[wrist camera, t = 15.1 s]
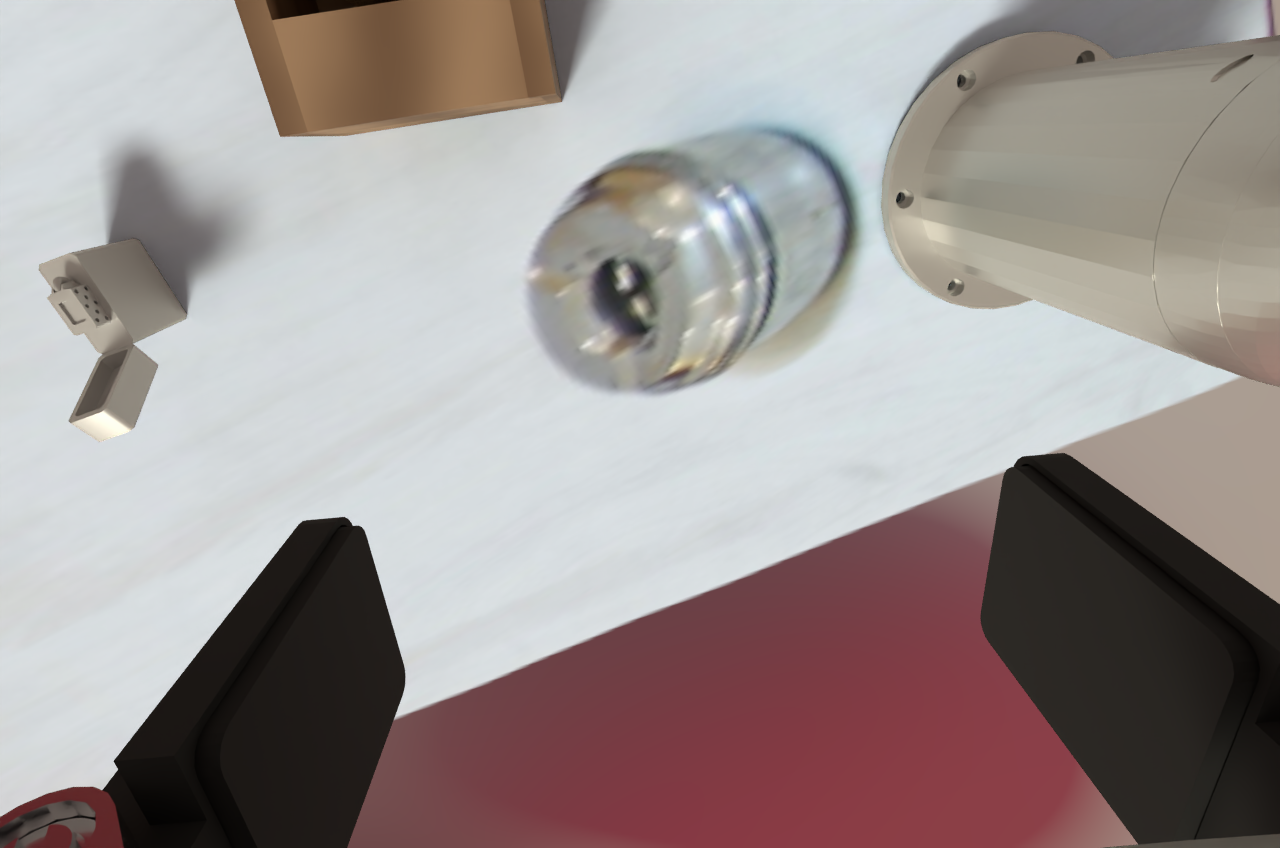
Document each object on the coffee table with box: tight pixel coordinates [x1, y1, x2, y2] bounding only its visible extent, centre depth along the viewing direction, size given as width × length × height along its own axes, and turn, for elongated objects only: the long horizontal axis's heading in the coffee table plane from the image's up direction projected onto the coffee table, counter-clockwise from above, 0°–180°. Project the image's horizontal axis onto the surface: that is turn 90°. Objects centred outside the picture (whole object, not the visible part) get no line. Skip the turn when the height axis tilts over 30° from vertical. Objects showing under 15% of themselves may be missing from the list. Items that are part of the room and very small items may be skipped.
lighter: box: [39, 238, 187, 442], centre depth 29 cm, size 7×2×8 cm, turn 19°
